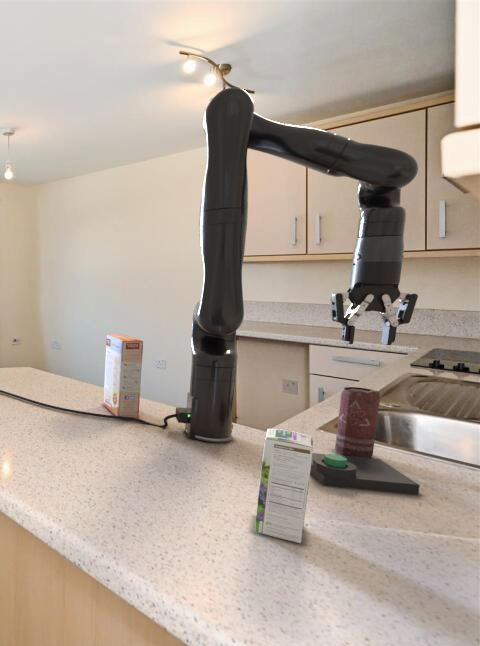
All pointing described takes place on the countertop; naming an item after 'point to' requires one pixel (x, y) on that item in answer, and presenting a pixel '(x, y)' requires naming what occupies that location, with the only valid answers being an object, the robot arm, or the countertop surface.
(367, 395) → the can
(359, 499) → the countertop surface
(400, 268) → the robot arm
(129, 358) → the cracker box
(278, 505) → the syrup box
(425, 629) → the countertop surface
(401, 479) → the scale
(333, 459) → the tare button
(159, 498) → the countertop surface
